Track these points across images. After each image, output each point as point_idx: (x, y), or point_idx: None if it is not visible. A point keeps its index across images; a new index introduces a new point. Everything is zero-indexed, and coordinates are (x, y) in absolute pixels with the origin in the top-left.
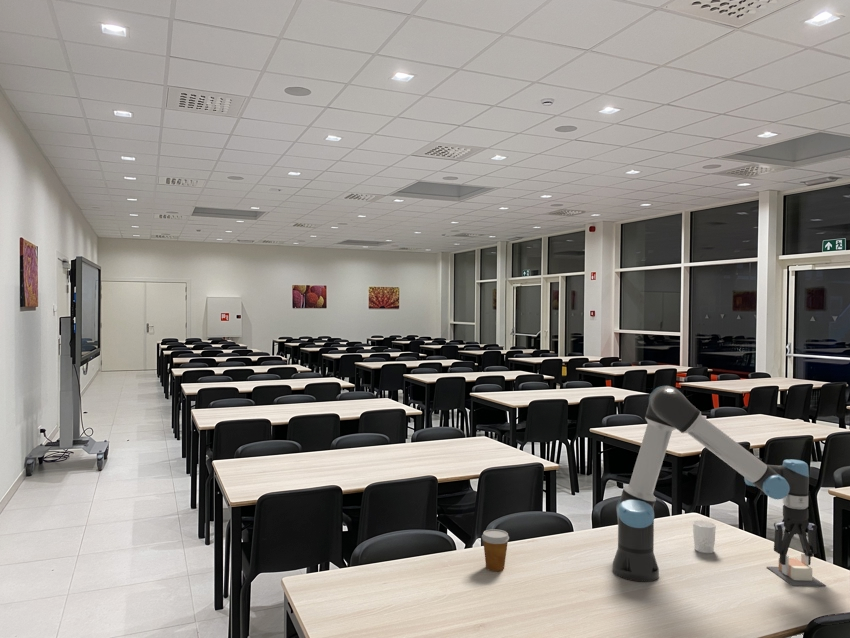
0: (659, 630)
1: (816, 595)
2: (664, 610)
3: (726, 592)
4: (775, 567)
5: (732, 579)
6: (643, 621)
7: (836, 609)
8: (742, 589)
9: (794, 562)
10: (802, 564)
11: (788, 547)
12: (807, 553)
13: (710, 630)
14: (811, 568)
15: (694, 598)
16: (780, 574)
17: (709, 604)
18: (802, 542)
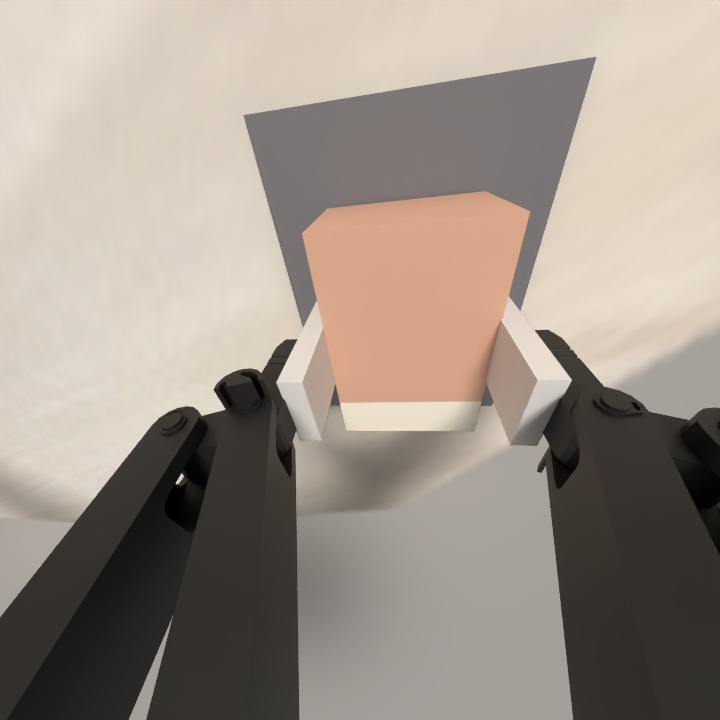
0: (43, 520)
1: (381, 455)
2: (6, 488)
3: (90, 437)
4: (324, 129)
5: (70, 352)
6: (3, 506)
7: (385, 504)
8: (132, 423)
9: (413, 340)
10: (457, 375)
11: (293, 537)
12: (547, 469)
13: None
14: (468, 430)
15: (28, 459)
16: (312, 294)
17: (76, 478)
18: (593, 638)
